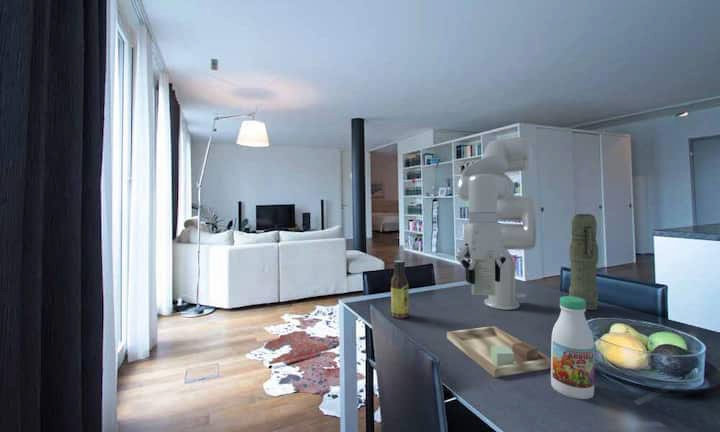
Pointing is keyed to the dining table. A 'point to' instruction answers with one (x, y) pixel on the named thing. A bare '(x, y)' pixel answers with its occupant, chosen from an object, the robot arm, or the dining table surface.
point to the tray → (479, 350)
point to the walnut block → (524, 352)
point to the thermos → (584, 260)
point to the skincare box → (485, 276)
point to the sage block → (501, 355)
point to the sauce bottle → (399, 291)
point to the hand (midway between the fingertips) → (483, 281)
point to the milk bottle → (572, 351)
